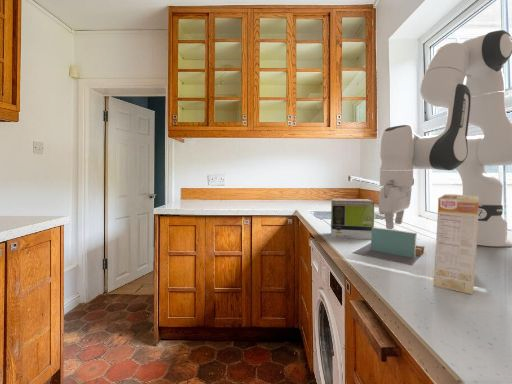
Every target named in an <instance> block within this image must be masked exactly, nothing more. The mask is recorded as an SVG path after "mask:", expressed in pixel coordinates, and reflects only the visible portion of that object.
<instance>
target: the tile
mask: <svg viewBox="0 0 512 384" xmlns="http://www.w3.org/2000/svg"><path fill="white" fill-rule="evenodd" d="M370 243H371V250H374V251H380V252H385V253H390V254H396V255H401V256H407V257H412V258H414V257H415V254H416V245H417V232H414V231H413V232H412V231H408V230H399V229H387V228H386V227H385V228H383V227H376V226H374V227H373V228H372V233H371V239H370Z"/></svg>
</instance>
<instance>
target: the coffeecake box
mask: <svg viewBox="0 0 512 384" xmlns="http://www.w3.org/2000/svg"><path fill="white" fill-rule="evenodd" d="M437 202H438V204H437V218H436V219H437V220H436V221H437V222H436V240H435V241H436V243H435V259H434V260H435V261H434V262H435V263H434V277H433V278H434V279H433V280H434V281H433V286H434V287H436V286H437V287H436V288H440V287H441V289H446V290H450V291H456V292H459V293H464V294H467V295H473V293H474V286H475V278H476V277H475V276H476V262H477V247H478V245H477V230H478V207H479V197H478V196H469V195H463V194H456V193H455V194H452V193H451V194H443V195H441V196H440V197H438V198H437Z"/></svg>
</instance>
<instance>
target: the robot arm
mask: <svg viewBox="0 0 512 384" xmlns="http://www.w3.org/2000/svg"><path fill="white" fill-rule="evenodd" d="M511 56H512V36H511V34H510V33H509V32H507V31H505V30H504V29H502V30H501V29H500V30H494V31H493V30H492V31H490V32H487V34H484V35H478V36H475V37H473V38H470V39H467V40H465V41H464V42H449V43H445V44H443V45H442V46H440V47H439V48H438V49H437V50H436V52H435V53H434V55H433V57H432V58H431V60H430V62H429V63H428V66H427V67H426V70H425V72H424V76H423V77H422V80H421V84H420V88H419V94H420V96H421V98H422V99H423V101H425V102H426V103H428V104H429V105H431V106H433V107H436V108H441V109H442V108H443V109H447V114H446V120H445V126H444V130H443V131H442V132H441V133H439V134H436V135H429V136H420V135H419V134H416V133H415V132H414V129H413V125H412V124H409V123H407V124H400V125H395V126H390V127H387V128H386V129H384V130H383V132H382V136H381V141H380V153H379V154H380V160H381V165H380V168H379V186H380V187H381V188H380V191H379V198H378V212H379V213H378V214H379V215H384V221H385V229H392V230H394V228H395V225H401V224H403V218H404V215H405V210H407V209H408V208H409V207H410V205H411V197H412V189H413V188H412V187H413V186H414V185H415V179H414V170H438V171H439V170H441V171H454V170H456V171H457V173H458V175H459V177H460V179H461V184H462V195H469V196H478V197H479V207H478V230H477V246H482V247H484V246H485V247H510V248H511V247H512V241H510V240H508V239H507V238H508V221H506V220H505V219H504V218H503V217H502V216H503V211H504V205H503V204H502V197H503V188H504V187H503V183H502V182H501V180H499V179H498V178H496V177H494V176H492V175H489V174H488V173H487V172H486V170H485V166H486V167H487V166H488V167H489V166H490V167H491V166H510V165H512V123H511V121H510V119H509V116H508V115H507V108H506V97H505V96H506V90H505V89H506V87H505V86H506V85H505V78H504V73H503V68H504V66H505V65H506V63H507V62H508V61H509V59H510V58H511ZM469 124H470V125H472V126H474V127H479V128H480V130H481V131H482V133H483V135H473V136H468V129H469ZM394 217H395V218H394Z"/></svg>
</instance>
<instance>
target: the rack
mask: <svg viewBox="0 0 512 384" xmlns="http://www.w3.org/2000/svg"><path fill="white" fill-rule="evenodd" d="M422 253H423V254H424V253H425V246H422V245H417V244H416V254H415V255H420V257H421V256H422V255H423V254H422Z"/></svg>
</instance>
